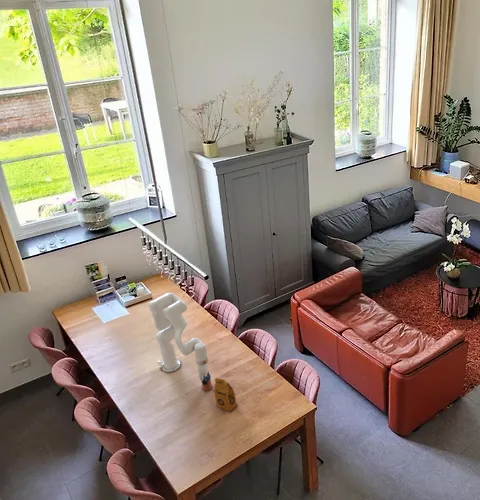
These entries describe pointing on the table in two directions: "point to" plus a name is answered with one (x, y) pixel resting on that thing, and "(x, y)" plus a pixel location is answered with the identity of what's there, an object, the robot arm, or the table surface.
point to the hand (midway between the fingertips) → (206, 380)
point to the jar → (207, 386)
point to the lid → (207, 377)
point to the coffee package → (224, 395)
